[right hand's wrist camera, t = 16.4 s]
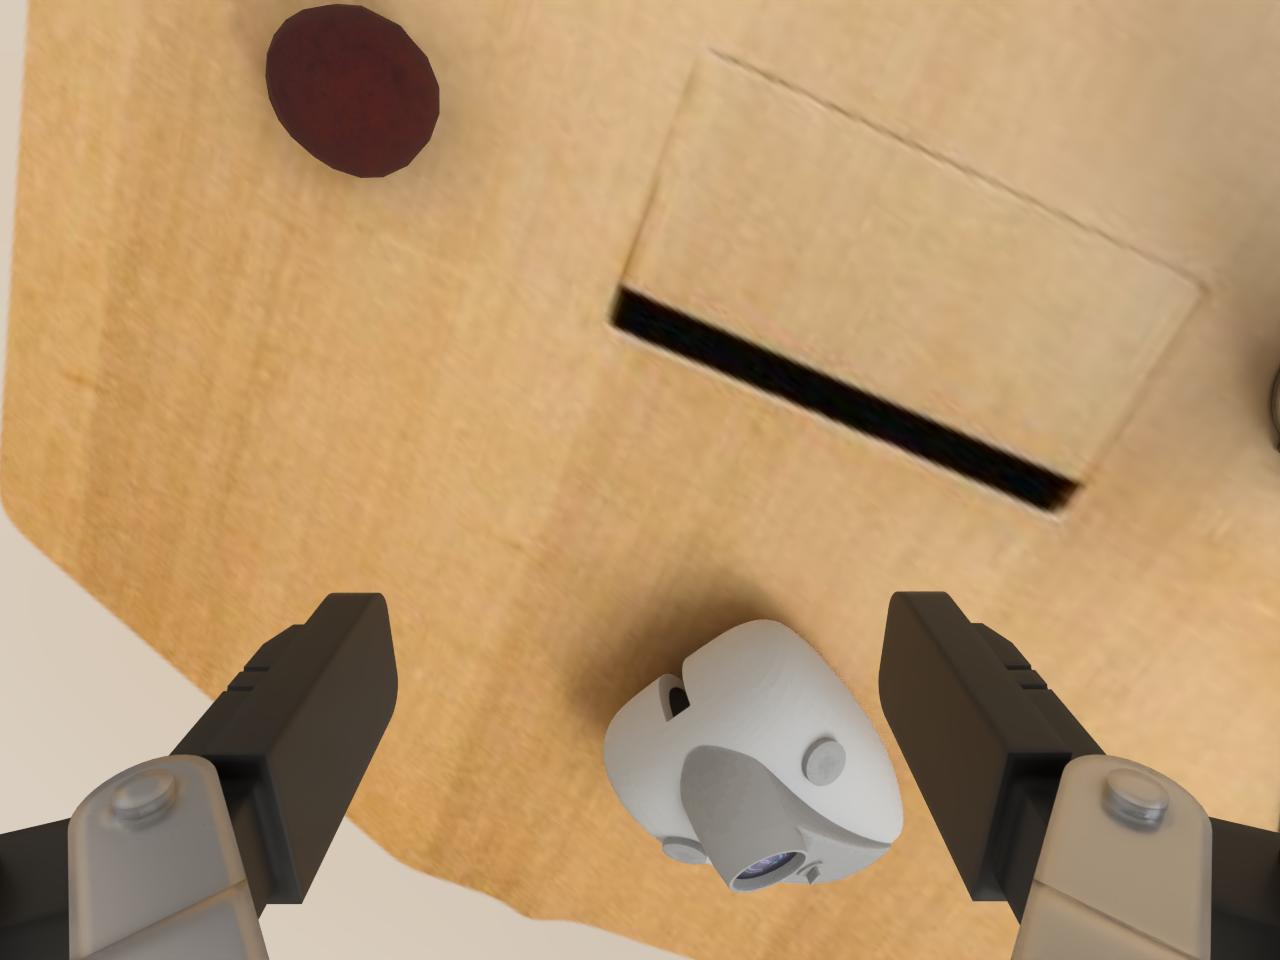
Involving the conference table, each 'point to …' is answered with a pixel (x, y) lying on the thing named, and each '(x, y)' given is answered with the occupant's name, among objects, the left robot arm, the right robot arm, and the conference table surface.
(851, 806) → the projector
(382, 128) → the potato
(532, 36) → the conference table surface
